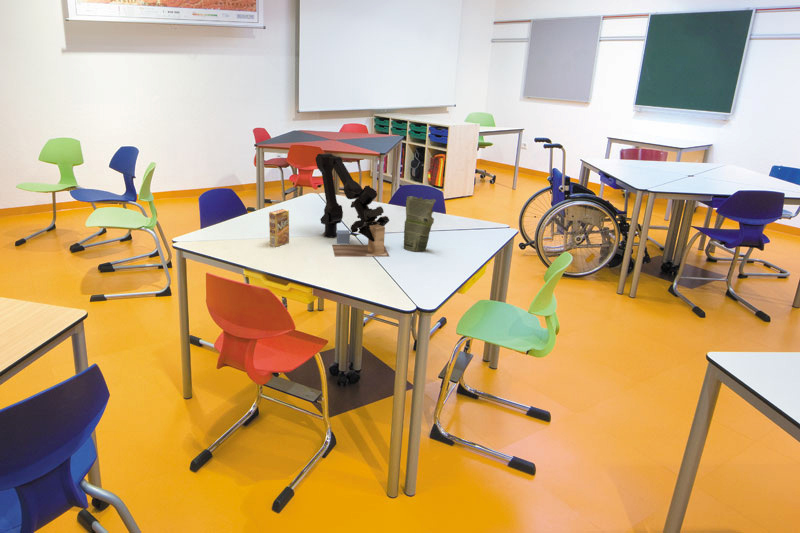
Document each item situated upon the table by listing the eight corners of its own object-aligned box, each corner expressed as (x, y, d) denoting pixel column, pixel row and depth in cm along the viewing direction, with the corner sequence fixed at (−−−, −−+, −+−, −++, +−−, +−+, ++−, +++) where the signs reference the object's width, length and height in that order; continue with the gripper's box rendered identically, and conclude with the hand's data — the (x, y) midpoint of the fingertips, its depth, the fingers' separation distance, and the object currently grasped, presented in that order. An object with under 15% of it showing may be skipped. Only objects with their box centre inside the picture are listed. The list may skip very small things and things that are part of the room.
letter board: (332, 245, 257) (332, 244, 256) (383, 246, 261) (383, 244, 261) (334, 257, 241) (334, 256, 241) (389, 257, 246) (389, 256, 245)
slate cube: (336, 241, 264) (337, 230, 262) (348, 241, 265) (348, 230, 263) (337, 245, 259) (338, 233, 257) (349, 245, 260) (350, 233, 258)
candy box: (276, 247, 250) (276, 213, 245) (269, 245, 252) (268, 212, 247) (289, 242, 257) (289, 210, 252) (282, 241, 259) (282, 208, 254)
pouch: (400, 246, 262) (403, 194, 253) (423, 245, 266) (427, 193, 258) (409, 254, 252) (412, 199, 244) (433, 252, 256) (437, 199, 248)
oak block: (367, 252, 249) (368, 225, 245) (376, 250, 253) (377, 224, 249) (375, 255, 246) (376, 228, 242) (383, 253, 249) (385, 227, 245)
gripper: (355, 203, 238) (371, 234, 235) (387, 198, 251) (403, 228, 247) (343, 216, 246) (358, 247, 242) (375, 211, 259) (390, 240, 255)
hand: (378, 240), depth 246 cm, fingers closed on oak block, 5 cm apart
